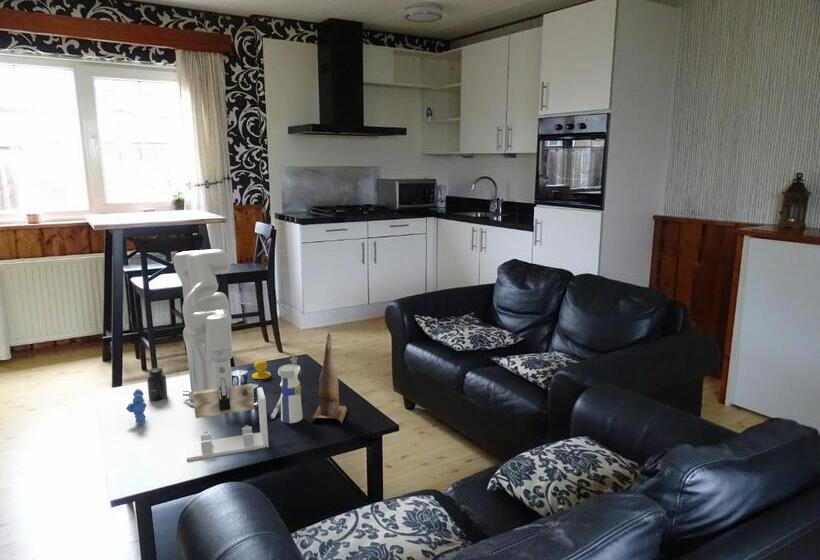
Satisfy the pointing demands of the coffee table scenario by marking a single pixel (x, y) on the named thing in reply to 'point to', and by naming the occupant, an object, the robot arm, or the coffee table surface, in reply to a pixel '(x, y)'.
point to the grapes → (138, 406)
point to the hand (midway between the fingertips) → (224, 407)
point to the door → (209, 399)
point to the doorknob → (261, 370)
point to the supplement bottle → (157, 385)
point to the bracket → (276, 409)
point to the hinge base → (233, 438)
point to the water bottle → (290, 392)
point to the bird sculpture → (329, 388)
